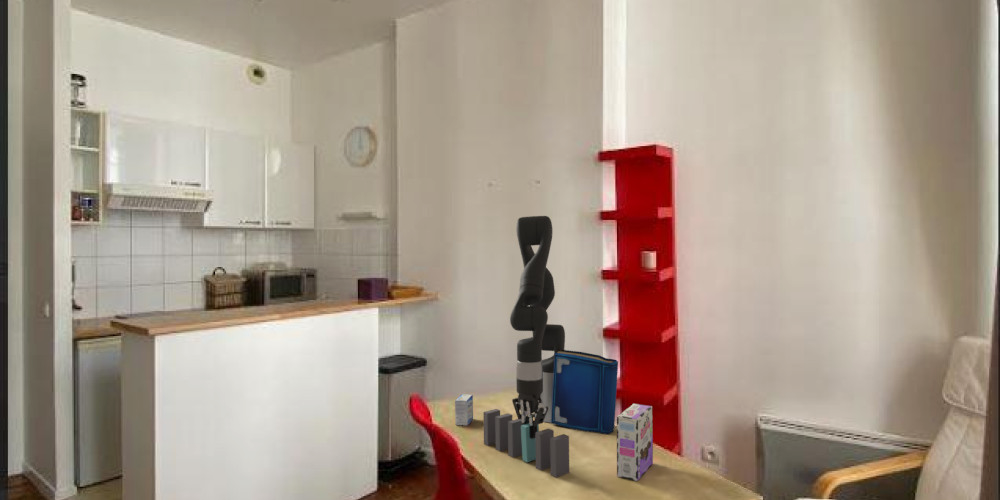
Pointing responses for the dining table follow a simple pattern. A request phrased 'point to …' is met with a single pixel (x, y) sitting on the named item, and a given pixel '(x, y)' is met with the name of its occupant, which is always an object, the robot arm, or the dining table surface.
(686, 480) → the dining table surface
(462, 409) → the medicine box
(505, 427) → the domino
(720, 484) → the dining table surface
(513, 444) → the domino
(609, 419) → the book
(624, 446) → the candy box
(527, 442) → the domino
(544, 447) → the domino
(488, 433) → the domino
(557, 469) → the domino
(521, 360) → the robot arm
